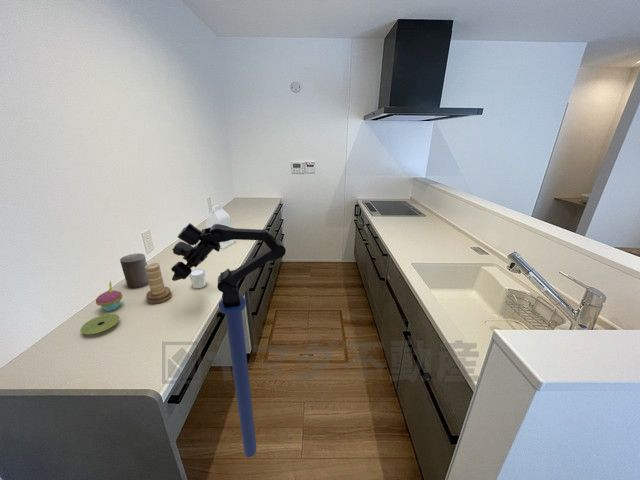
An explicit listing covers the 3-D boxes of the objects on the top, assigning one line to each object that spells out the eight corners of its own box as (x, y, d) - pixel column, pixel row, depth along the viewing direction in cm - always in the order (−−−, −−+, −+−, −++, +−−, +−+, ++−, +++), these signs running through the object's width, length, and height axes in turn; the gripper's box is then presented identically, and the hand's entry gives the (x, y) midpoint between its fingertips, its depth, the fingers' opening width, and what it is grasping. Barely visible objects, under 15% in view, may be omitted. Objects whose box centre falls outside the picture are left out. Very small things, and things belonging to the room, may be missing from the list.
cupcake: (120, 299, 114) (112, 274, 109) (128, 306, 109) (120, 281, 105) (95, 308, 107) (86, 283, 103) (103, 316, 103) (94, 290, 98)
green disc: (100, 340, 91) (99, 335, 90) (73, 335, 93) (71, 331, 92) (128, 319, 101) (126, 315, 101) (103, 316, 103) (101, 312, 102)
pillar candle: (126, 290, 120) (118, 261, 115) (127, 281, 128) (119, 253, 122) (151, 284, 125) (144, 256, 119) (151, 276, 133) (144, 249, 127)
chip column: (167, 290, 115) (161, 264, 110) (155, 296, 111) (149, 269, 106) (160, 287, 117) (154, 261, 112) (148, 293, 113) (142, 266, 108)
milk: (223, 248, 167) (218, 208, 157) (208, 246, 170) (202, 207, 161) (234, 242, 177) (230, 204, 168) (220, 239, 181) (215, 202, 171)
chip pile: (173, 290, 121) (172, 284, 119) (170, 302, 112) (168, 296, 111) (150, 294, 118) (148, 288, 117) (144, 306, 109) (142, 299, 108)
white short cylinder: (208, 286, 124) (206, 273, 122) (193, 290, 121) (190, 277, 118) (205, 280, 130) (203, 267, 127) (190, 284, 126) (187, 271, 123)
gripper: (196, 228, 110) (175, 252, 114) (171, 246, 93) (147, 272, 97) (217, 246, 113) (195, 268, 117) (197, 266, 95) (172, 291, 100)
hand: (179, 274), depth 108 cm, fingers open, 9 cm apart
